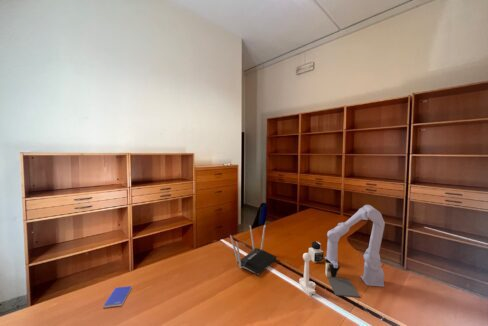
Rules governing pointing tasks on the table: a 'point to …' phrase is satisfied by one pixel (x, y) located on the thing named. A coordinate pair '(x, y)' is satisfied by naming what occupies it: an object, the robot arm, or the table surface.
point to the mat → (343, 287)
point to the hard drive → (117, 296)
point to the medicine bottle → (316, 252)
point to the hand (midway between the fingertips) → (331, 272)
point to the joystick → (307, 277)
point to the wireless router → (254, 257)
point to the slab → (328, 270)
